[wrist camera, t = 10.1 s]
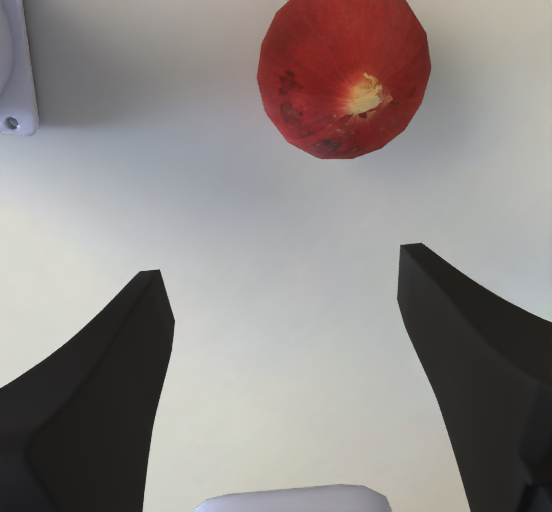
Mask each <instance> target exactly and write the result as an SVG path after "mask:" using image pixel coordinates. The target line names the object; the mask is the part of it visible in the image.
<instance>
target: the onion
mask: <svg viewBox="0 0 552 512" xmlns="http://www.w3.org/2000/svg"><path fill="white" fill-rule="evenodd" d="M430 72H431V62H430V55H429V49H428V42H427V35H426V32H425V30H424V29H423V27H422V25H421V24H420V22H419V21H418V19H417V18H416V16H415V14H414V13H413V11H412V10H411V8H410V6H409V5H408V3H407V2H406V0H289V1H288V2H287V3H286V4H285V5H284V6H283V7H282V8H281V9H280V10H279V11H277V12H276V15H275V17H274V19H273V21H272V23H271V25H270V27H269V29H268V32H267V34H266V36H265V38H264V40H263V42H262V44H261V51H260V58H259V65H258V72H257V81H258V85H259V89H260V93H261V97H262V101H263V105H264V109H265V112H266V113H267V115H268V117H269V118H270V119H271V121H272V122H273V123H274V125H275V126H276V127H277V129H278V130H279V131H280V133H281V134H282V135H283V136H284V138H285V139H286V140H287V142H288V143H290V144H292V145H294V146H296V147H298V148H300V149H302V150H303V151H305V152H307V153H309V154H311V155H313V156H315V157H317V158H320V159H353V158H356V157H359V156H362V155H364V154H367V153H370V152H373V151H375V150H378V149H381V148H382V147H384V146H385V145H386V144H387V143H389V142H390V141H391V140H392V139H394V138H395V137H396V136H397V135H399V134H400V133H401V132H403V131H404V130H405V129H406V127H407V126H408V124H409V122H410V121H411V119H412V118H413V116H414V114H415V113H416V111H417V110H418V108H419V106H420V105H421V103H422V100H423V97H424V93H425V89H426V86H427V82H428V79H429V75H430Z"/></svg>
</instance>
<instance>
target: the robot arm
mask: <svg viewBox="0 0 552 512" xmlns="http://www.w3.org/2000/svg"><path fill="white" fill-rule="evenodd" d="M10 117H12V118H14V119H16V120H17V122H18V124H19V125H18V127H17V126H14V125H13V124H12V123H11V122H10ZM39 125H40V123H39V116H38V109H37V102H36V95H35V88H34V81H33V73H32V66H31V59H30V52H29V45H28V38H27V31H26V23H25V16H24V9H23V2H22V0H0V133H7V134H15V135H24V136H31V135H33V134H35V133H36V132H37V131H38V129H39ZM397 300H398V304H399V308H400V311H401V315H402V318H403V321H404V325H405V328H406V330H407V333H408V335H409V337H410V339H411V342H412V344H413V346H414V348H415V351H416V353H417V355H418V357H419V359H420V362H421V364H422V366H423V368H424V371H425V373H426V375H427V377H428V379H429V382H430V384H431V386H432V388H433V391H434V393H435V396H436V398H437V401H438V404H439V407H440V410H441V413H442V416H443V419H444V422H445V425H446V428H447V431H448V435H449V438H450V441H451V444H452V448H453V451H454V454H455V458H456V461H457V464H458V468H459V471H460V475H461V478H462V482H463V485H464V489H465V493H466V496H467V500H468V503H469V507H470V511H471V512H552V322H549V321H547V320H545V319H542V318H540V317H538V316H536V315H534V314H531V313H529V312H527V311H525V310H523V309H521V308H519V307H518V306H516V305H514V304H512V303H510V302H508V301H506V300H504V299H503V298H501V297H499V296H497V295H496V294H494V293H492V292H491V291H489V290H487V289H486V288H484V287H483V286H481V285H479V284H478V283H476V282H475V281H473V280H472V279H470V278H469V277H467V276H466V275H464V274H463V273H462V272H460V271H459V270H457V269H456V268H455V267H453V266H452V265H451V264H449V263H448V262H446V261H445V260H444V259H442V258H441V257H440V256H438V255H437V254H436V253H434V252H433V251H432V250H430V249H429V248H428V247H426V246H425V245H424V244H422V243H415V244H406V245H400V260H399V277H398V294H397ZM174 325H175V320H174V316H173V313H172V309H171V306H170V303H169V299H168V296H167V292H166V289H165V286H164V282H163V279H162V275H161V272H160V269H159V270H149V271H140V272H139V273H138V274H137V275H136V276H135V277H134V278H133V279H132V280H131V281H130V282H129V283H128V284H127V285H126V286H125V287H124V288H123V289H122V290H121V291H120V292H119V293H118V294H117V295H116V296H115V297H114V298H113V299H112V300H111V301H110V302H109V303H108V305H107V306H106V307H105V308H104V309H103V310H102V311H101V312H100V313H99V314H98V315H96V316H95V317H94V318H93V319H92V320H91V321H90V322H89V323H88V324H87V325H86V326H85V327H84V328H82V329H81V330H80V331H79V332H78V333H77V334H76V335H75V336H74V337H72V338H71V339H70V340H69V341H68V342H66V343H65V344H64V345H63V346H62V347H60V348H59V349H58V350H56V351H55V352H54V353H52V354H51V355H50V356H49V357H47V358H46V359H44V360H43V361H42V362H40V363H39V364H37V365H36V366H34V367H33V368H31V369H30V370H28V371H27V372H25V373H24V374H22V375H21V376H19V377H18V378H16V379H15V380H13V381H12V382H10V383H8V384H7V385H5V386H3V387H2V388H0V512H142V511H143V501H144V491H145V483H146V474H147V466H148V458H149V451H150V444H151V437H152V430H153V424H154V420H155V415H156V411H157V407H158V403H159V399H160V395H161V391H162V387H163V383H164V380H165V376H166V372H167V368H168V364H169V360H170V356H171V351H172V344H173V336H174ZM191 512H392V509H391V507H390V505H389V503H388V501H387V498H386V496H384V495H382V494H380V493H378V492H376V491H374V490H372V489H370V488H368V487H365V486H362V485H345V484H337V485H326V486H314V487H303V488H291V489H280V490H268V491H257V492H245V493H234V494H226V495H222V496H218V497H214V498H210V499H206V500H205V501H204V502H202V503H201V504H200V505H199V506H197V507H196V508H195V509H193V510H192V511H191Z"/></svg>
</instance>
